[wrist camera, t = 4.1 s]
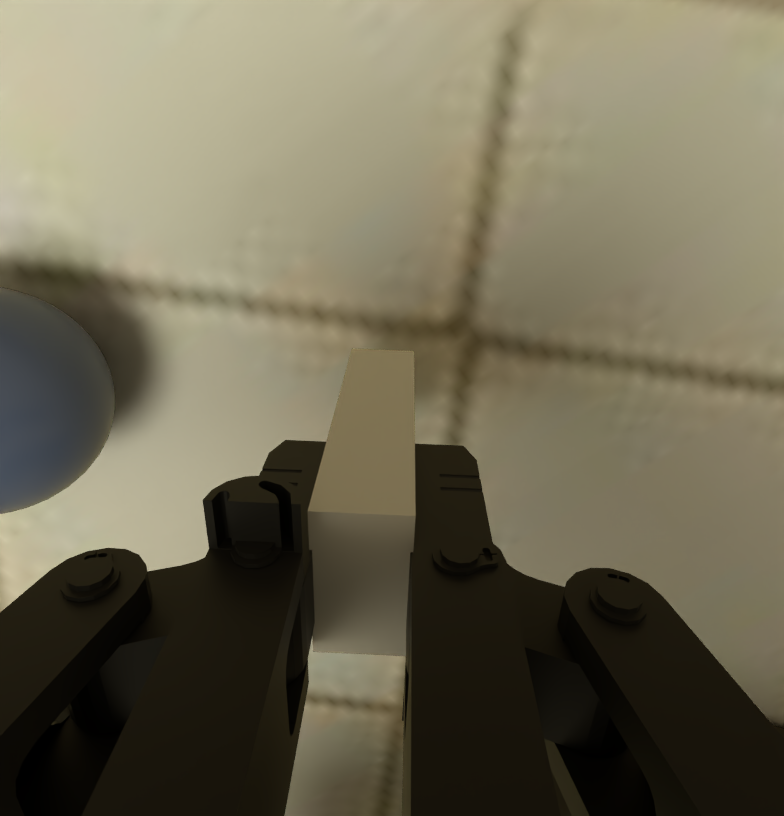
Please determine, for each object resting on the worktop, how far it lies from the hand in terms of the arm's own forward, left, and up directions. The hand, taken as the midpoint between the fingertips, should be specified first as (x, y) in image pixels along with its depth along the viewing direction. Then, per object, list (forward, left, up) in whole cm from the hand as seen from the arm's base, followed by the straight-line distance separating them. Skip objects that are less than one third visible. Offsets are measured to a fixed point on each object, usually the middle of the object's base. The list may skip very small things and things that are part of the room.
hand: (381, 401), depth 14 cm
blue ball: (+9, 0, +1) cm, 10 cm away
